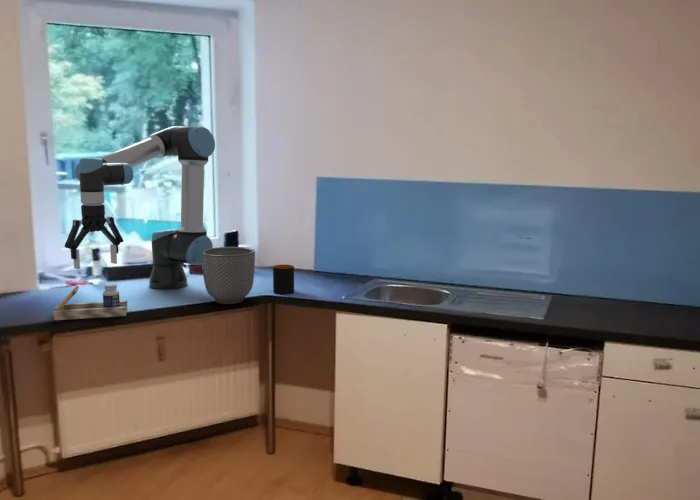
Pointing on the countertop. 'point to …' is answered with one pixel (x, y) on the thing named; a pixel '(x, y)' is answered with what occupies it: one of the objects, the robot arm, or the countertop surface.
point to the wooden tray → (88, 310)
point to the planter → (228, 273)
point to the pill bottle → (111, 296)
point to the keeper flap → (69, 296)
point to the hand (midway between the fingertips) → (95, 265)
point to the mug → (283, 279)
